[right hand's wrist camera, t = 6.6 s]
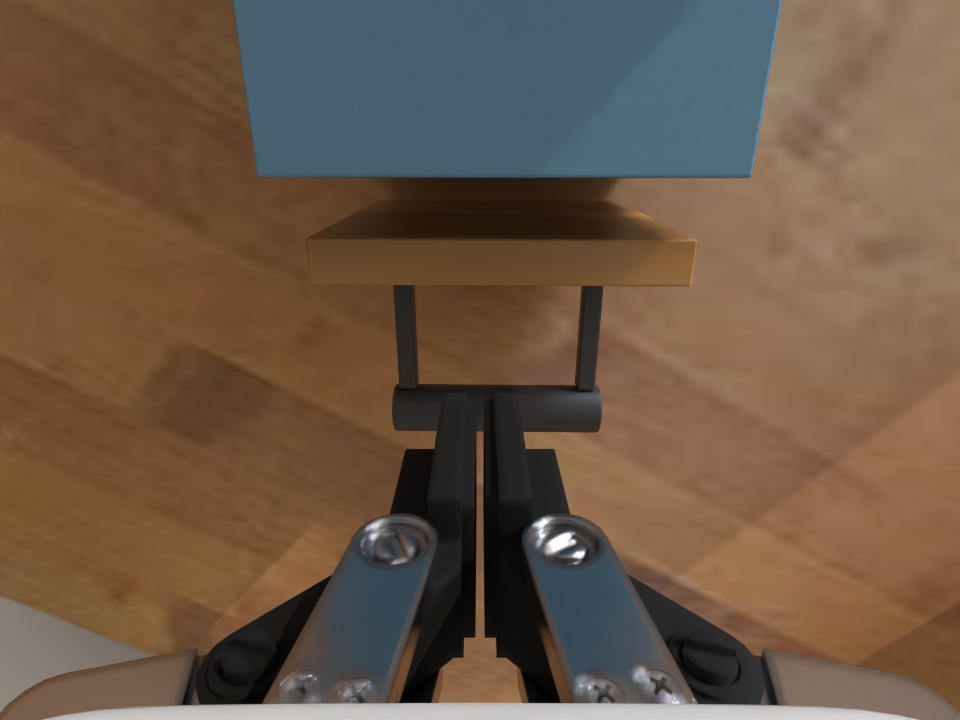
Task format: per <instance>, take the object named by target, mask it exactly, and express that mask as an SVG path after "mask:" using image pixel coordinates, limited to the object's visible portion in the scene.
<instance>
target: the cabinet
mask: <svg viewBox="0 0 960 720" xmlns="http://www.w3.org/2000/svg"><path fill="white" fill-rule="evenodd" d="M232 1H233V8H234V15H235V22H236V29H237V36H238V43H239V50H240V57H241V65H242V72H243V79H244V86H245V93H246V100H247V107H248V114H249V121H250V128H251V135H252V142H253V149H254V156H255V163H256V170H257V174H258V176H260V177H341V178H748V177H750V176H751V175H752V170H753V165H754V159H755V153H756V147H757V142H758V136H759V130H760V124H761V119H762V113H763V107H764V101H765V96H766V90H767V84H768V78H769V73H770V67H771V61H772V55H773V50H774V44H775V38H776V32H777V27H778V21H779V15H780V9H781V4H782V0H232Z"/></svg>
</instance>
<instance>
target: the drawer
mask: <svg viewBox="0 0 960 720" xmlns="http://www.w3.org/2000/svg"><path fill="white" fill-rule="evenodd" d="M306 243H307V252H308V261H309V269H310V278H311V283H312V284H314V285H393V286H394V303H395V320H396V337H397V354H398V371H399V384H397V385H396V386H395V389H394V393H393V403H392V417H393V425H394V428H395V430H397V431H437V428H438V421H439V415H440V408H441V401H442V395H443V393H467V399H476V431H484V399H493V393H517V395H518V401H519V408H520V415H521V421H522V428H523V432H598V431H599V429H600V425H601V417H602V403H601V395H600V390H599V388H598V386H595V378H596V367H597V355H598V343H599V331H600V320H601V308H602V296H603V286H690V285H691V283H692V276H693V269H694V262H695V255H696V248H697V240H696V239H694V238H692V237H690V236H688V235H686V234H684V233H682V232H680V231H678V230H675V229H673V228H671V227H669V226H667V225H665V224H663V223H661V222H659V221H657V220H655V219H652V218H650V217H648V216H646V215H644V214H642V213H640V212H638V211H636V210H634V209H631V208H629V207H627V206H625V205H623V204H621V203H619V202H617V201H377V202H375V203H373V204H371V205H369V206H367V207H365V208H363V209H361V210H360V211H358V212H356V213H354V214H352V215H350V216H348V217H346V218H344V219H342V220H341V221H339V222H337V223H335V224H333V225H331V226H329V227H327V228H325V229H324V230H322V231H320V232H318V233H316V234H314V235H312V236H310V237H308V238H307V240H306ZM414 285H496V286H582V289H581V303H580V318H579V332H578V346H577V360H576V374H575V384H576V385H464V384H418V382H419V377H418V355H417V332H416V310H415V287H414Z"/></svg>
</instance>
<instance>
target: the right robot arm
mask: <svg viewBox="0 0 960 720" xmlns="http://www.w3.org/2000/svg"><path fill="white" fill-rule="evenodd" d="M475 612H476V399H467V393H443V395H442V401H441V408H440V415H439V421H438V428H437V435H436V442H435V448H434V449H406V451H405V454H404V458H403V462H402V466H401V471H400V475H399V479H398V483H397V487H396V491H395V495H394V500H393V504H392V508H391V512H390V514H389V515H384V516H380V517H378V518H376V519H373V520H371V521H369V522H368V523H366V524H365V525H363V526H362V527H361V528H360V529H359V530H358V531H357V532H356V534H355V535H354V536H353V538H352V540H351V542H350V544H349V545H348V547H347V549H346V551H345V553H344V555H343V556H342V558H341V560H340V562H339V564H338V566H337V567H336V569H335V571H334V573H333V575H331V576H329V577H327V578H326V579H324V580H322V581H321V582H319V583H317V584H315V585H314V586H312V587H310V588H309V589H307V590H305V591H303V592H302V593H300V594H298V595H297V596H295V597H293V598H292V599H290V600H288V601H286V602H285V603H283V604H281V605H280V606H278V607H276V608H274V609H273V610H271V611H269V612H268V613H266V614H264V615H263V616H261V617H259V618H257V619H256V620H254V621H252V622H251V623H249V624H247V625H245V626H244V627H242V628H240V629H239V630H237V631H235V632H233V633H232V634H230V635H229V636H227V637H226V638H225V639H223V640H222V641H220V642H219V643H218V644H216V645H215V646H214V648H213V649H212V650H211V651H210V652H209V653H208V654H207V655H204V656H199V655H198V651H197V648H195V649H190V650H185V651H180V652H174V653H169V654H164V655H159V656H153V657H148V658H143V659H138V660H132V661H127V662H122V663H117V664H112V665H106V666H101V667H96V668H90V669H85V670H80V671H75V672H69V673H64V674H61V675H58V676H55V677H52V678H49V679H45V680H43V681H42V682H40V683H38V684H36V685H34V686H32V687H31V688H29V689H27V690H25V691H24V692H23V693H21V694H20V695H19V696H18V697H17V698H15V699H14V700H13V701H12V702H10V703H9V704H8V705H7V706H6V707H5V708H4V709H3V710H2V712H1V713H0V720H960V713H959V712H958V710H957V709H956V708H955V707H954V706H953V705H952V704H951V703H950V702H948V701H947V700H946V699H945V698H944V697H942V696H941V695H940V694H939V693H938V692H936V691H935V690H933V689H931V688H929V687H928V686H926V685H924V684H922V683H920V682H918V681H917V680H915V679H911V678H908V677H905V676H902V675H899V674H896V673H891V672H885V671H880V670H875V669H870V668H864V667H859V666H854V665H849V664H843V663H838V662H833V661H828V660H822V659H817V658H812V657H807V656H801V655H796V654H791V653H786V652H780V651H775V650H770V649H765V648H763V651H762V655H761V656H756V655H753V654H752V653H751V652H750V651H749V650H748V649H747V648H746V646H745V645H744V644H742V643H741V642H740V641H738V640H737V639H735V638H734V637H733V636H731V635H730V634H728V633H727V632H725V631H723V630H721V629H720V628H718V627H716V626H715V625H713V624H711V623H709V622H708V621H706V620H704V619H703V618H701V617H699V616H697V615H696V614H694V613H692V612H691V611H689V610H687V609H686V608H684V607H682V606H680V605H679V604H677V603H675V602H674V601H672V600H670V599H668V598H667V597H665V596H663V595H662V594H660V593H658V592H657V591H655V590H653V589H651V588H650V587H648V586H646V585H645V584H643V583H641V582H639V581H638V580H636V579H634V578H633V577H631V576H629V575H627V573H626V571H625V569H624V567H623V566H622V564H621V562H620V560H619V558H618V556H617V555H616V553H615V551H614V549H613V547H612V545H611V544H610V542H609V540H608V538H607V536H606V535H605V534H604V532H603V531H602V530H601V529H600V528H599V527H598V526H597V525H595V524H594V523H592V522H591V521H589V520H587V519H584V518H582V517H580V516H576V515H571V514H570V512H569V508H568V504H567V500H566V495H565V491H564V487H563V483H562V479H561V475H560V471H559V466H558V462H557V458H556V454H555V451H554V449H526V448H525V442H524V435H523V428H522V421H521V415H520V408H519V401H518V395H517V393H493V399H484V612H485V638H496V652H497V658H508V659H509V660H510V661H511V662H512V663H514V664H515V665H516V666H517V679H518V687H519V692H520V696H521V700H522V703H438V700H439V696H440V692H441V687H442V679H443V666H444V665H445V664H446V663H448V662H449V661H450V660H451V659H452V658H463V652H464V638H475Z"/></svg>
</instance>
